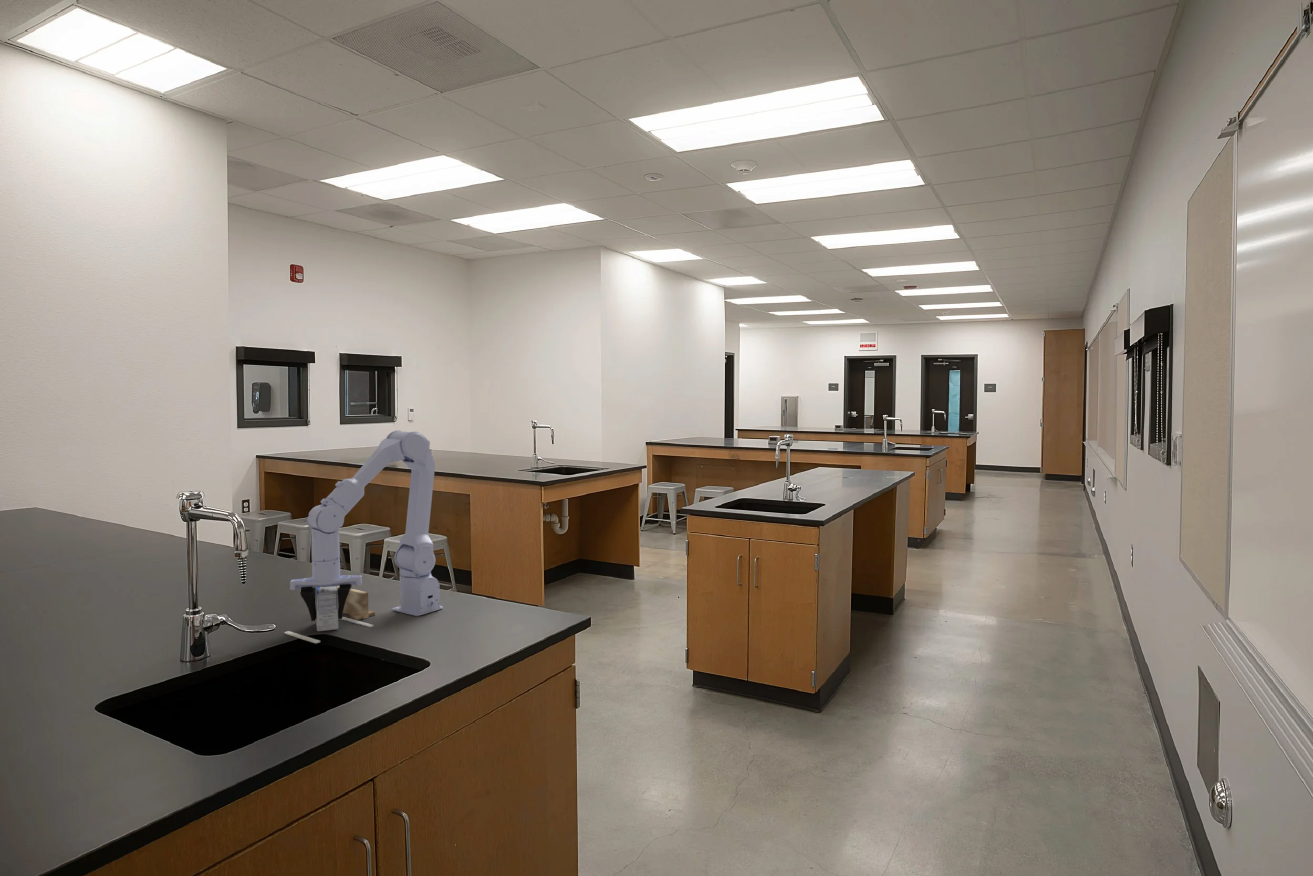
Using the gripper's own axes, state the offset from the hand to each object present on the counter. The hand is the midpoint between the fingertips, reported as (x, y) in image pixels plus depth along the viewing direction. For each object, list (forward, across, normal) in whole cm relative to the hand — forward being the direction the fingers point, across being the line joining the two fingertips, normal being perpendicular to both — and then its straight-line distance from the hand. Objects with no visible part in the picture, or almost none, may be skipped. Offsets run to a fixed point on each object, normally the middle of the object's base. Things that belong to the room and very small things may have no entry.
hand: (327, 618), depth 162 cm
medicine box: (+2, 0, -2) cm, 3 cm away
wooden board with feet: (+2, -3, -12) cm, 13 cm away
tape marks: (+2, 0, +1) cm, 3 cm away
